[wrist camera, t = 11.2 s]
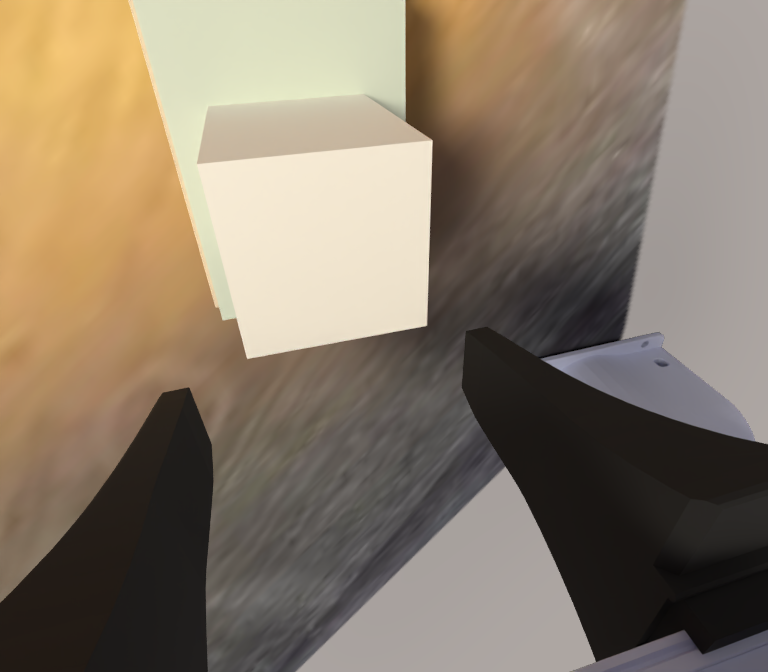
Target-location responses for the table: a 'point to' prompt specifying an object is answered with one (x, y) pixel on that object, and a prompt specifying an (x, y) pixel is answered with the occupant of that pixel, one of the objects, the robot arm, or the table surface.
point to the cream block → (318, 219)
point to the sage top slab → (264, 70)
